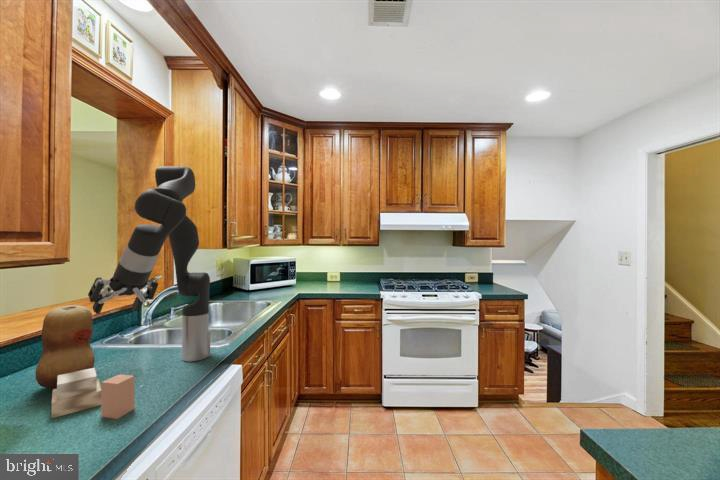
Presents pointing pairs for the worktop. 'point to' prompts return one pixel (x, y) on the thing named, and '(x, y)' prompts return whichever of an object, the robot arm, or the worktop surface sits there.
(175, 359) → the worktop surface
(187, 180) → the robot arm
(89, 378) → the beige stepped block
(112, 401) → the salmon pink rectangular block
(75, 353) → the butternut squash
